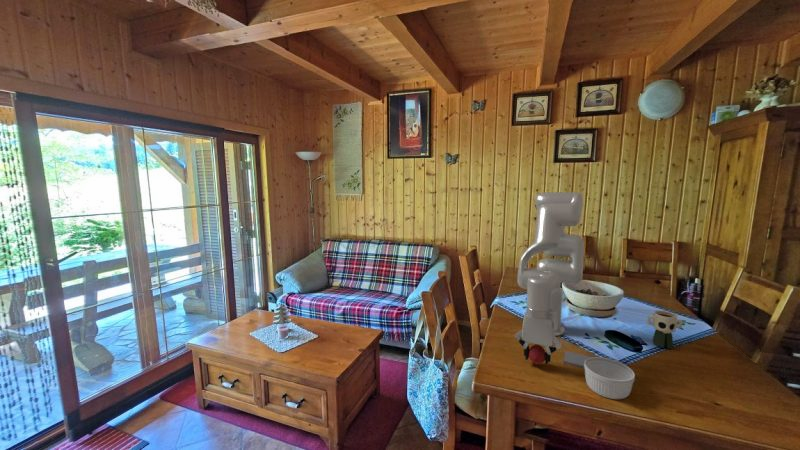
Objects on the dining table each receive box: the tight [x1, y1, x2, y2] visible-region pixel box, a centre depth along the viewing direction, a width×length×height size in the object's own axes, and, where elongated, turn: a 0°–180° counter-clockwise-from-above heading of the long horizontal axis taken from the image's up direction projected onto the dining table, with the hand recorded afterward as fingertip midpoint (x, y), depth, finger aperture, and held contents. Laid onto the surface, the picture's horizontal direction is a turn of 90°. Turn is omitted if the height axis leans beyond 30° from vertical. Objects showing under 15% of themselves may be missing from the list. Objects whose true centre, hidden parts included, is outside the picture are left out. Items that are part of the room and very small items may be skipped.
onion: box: [528, 344, 546, 365], centre depth 113 cm, size 6×6×8 cm
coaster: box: [563, 350, 591, 369], centre depth 117 cm, size 8×8×1 cm
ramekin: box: [583, 356, 636, 400], centre depth 100 cm, size 13×13×7 cm
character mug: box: [646, 309, 683, 349], centre depth 125 cm, size 11×7×13 cm, turn 67°
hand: (536, 360), depth 114 cm, fingers closed on onion, 5 cm apart
